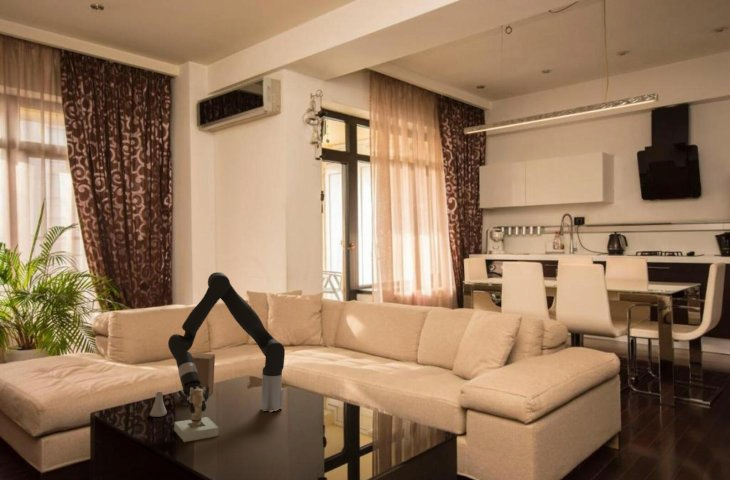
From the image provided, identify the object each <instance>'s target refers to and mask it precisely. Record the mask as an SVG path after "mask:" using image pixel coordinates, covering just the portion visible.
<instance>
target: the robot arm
mask: <svg viewBox="0 0 730 480" xmlns="http://www.w3.org/2000/svg"><path fill="white" fill-rule="evenodd" d="M207 285H208V287H207V290H206V292H205V294H204V296H203V297H202V298H201V300H200V301H199V302H198V303H197V305H196V306H195V307H194V308H193V309H192V311H191V312H190V313H189V314H188V315H187V317H186V319H185V321H184V322H183V324H182V326H181V328H182V330H183V331H184V334H183V335H181V334H178V333H175V334H172V335H171V336H170V337H169V338H168V349H169V351H170V353H171V355H172V357H173V358H174V360H175V362H176V367H177V371H178V377H179V379H180V383H181V388H182V390H178V392H177V394H176V396H177V398H178V399H179V401H180V402H181V404H182V405H183V406H188V410H189V413H191V415H192V414H193V413H194V412H195V409H194V405H193V403H192V397H193V389H203V392H204V397H202V412H206V409H207V405H206V402H207V401H208V399H209V397H210V396H209V387H208V386H207V387H203V386H202V385H201V383H200V379H199V376H198V372H197V369H196V366H195V364H194V360H193V357H192V356H193V355H192V353H191V352H189V351H190V349H191V348H192V347H193V344H194V343H195V339H196V335H197V333H198V331H199V330H200V328H201V326H202V325H203V323H204V322H205V320H206V318H207V317H208V315H209V314H210V312H211V311H212V310H213V308H214V307H215V305H216V304H217V303H218V301H220V300H221V301H222V302H223V303H224V304H225V306H226V308H227V309H228V311H229V313H230V314H231V316H232V317H233V318H234V320H235V321H236V322H237V323H238V325H239V326H240V327H241V328H242V330H244V332H245V333H246V334H247V335H249V336H250V337H251V338H252V339H253V341H255V343H256V345H257V346H258V348H259V349H260V350H261V351H260V352H262V354H263V355H264V357H265V361H264V367H262V376H261V377H262V378H261V381H262V382H261V399H260V400H261V401H260V410H261V409H262V410H266V411H270V410H275V409H278V408H280V407H282V408H283V397H284V396H283V395H284V390H283V389H282V385H283V383H282V378H283V370H284V367H285V358H286V357H285V354H286V353H285V351H286V350H285V347H284V345H283V344H282V342H280V341H278V340H277V339H275V338H274V337H273V335H271V334H270V333H269V331H268V330H267V329H266V327H265V326H264V324H263V321H262V320H261V318H260V316H259V315H258V314H257V312H256V311H255V310H254V309H253V308H252V306H251V305H250V304H249V303H248V302H247V301H246V300H245V299H244V298H243V297H242V296H241V295H239V293H238V292H237V291H236V289H235V288H234V287H233V285H232V284H231V282H230V279H229V278H228V276H227V275H226V274H224V273H222V272H218V271H217V272H213V273H211V274H210V275H209V277H208V278H207ZM262 410H261V411H262Z"/></svg>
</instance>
